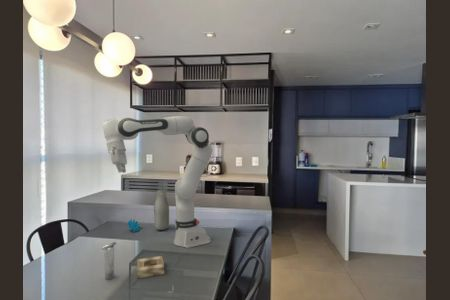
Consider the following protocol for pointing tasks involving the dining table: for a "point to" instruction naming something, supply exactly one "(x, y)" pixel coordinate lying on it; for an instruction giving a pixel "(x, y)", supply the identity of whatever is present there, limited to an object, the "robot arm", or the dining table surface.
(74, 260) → the dining table surface
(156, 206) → the glass bottle
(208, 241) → the robot arm
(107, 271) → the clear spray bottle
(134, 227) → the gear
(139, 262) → the socket block
